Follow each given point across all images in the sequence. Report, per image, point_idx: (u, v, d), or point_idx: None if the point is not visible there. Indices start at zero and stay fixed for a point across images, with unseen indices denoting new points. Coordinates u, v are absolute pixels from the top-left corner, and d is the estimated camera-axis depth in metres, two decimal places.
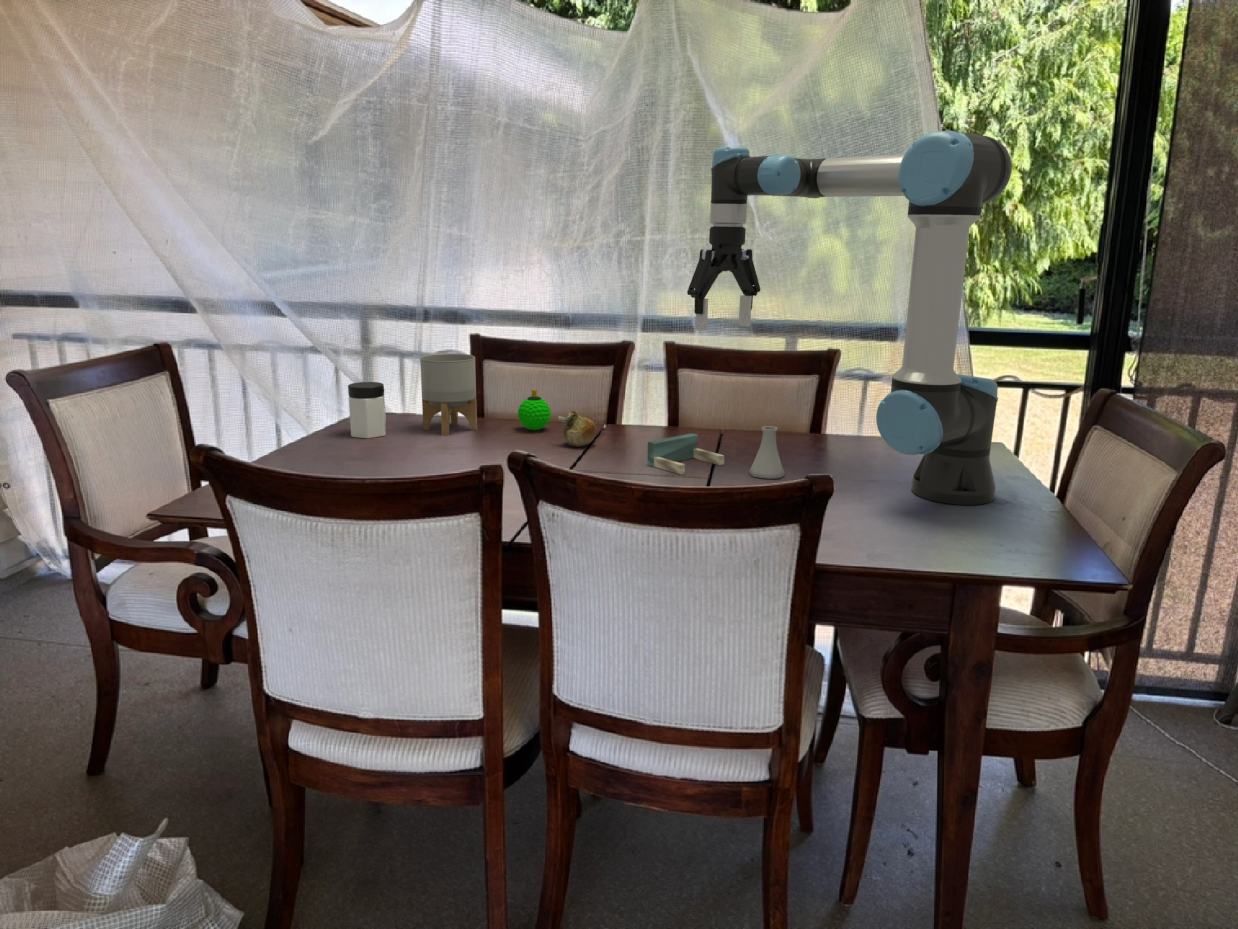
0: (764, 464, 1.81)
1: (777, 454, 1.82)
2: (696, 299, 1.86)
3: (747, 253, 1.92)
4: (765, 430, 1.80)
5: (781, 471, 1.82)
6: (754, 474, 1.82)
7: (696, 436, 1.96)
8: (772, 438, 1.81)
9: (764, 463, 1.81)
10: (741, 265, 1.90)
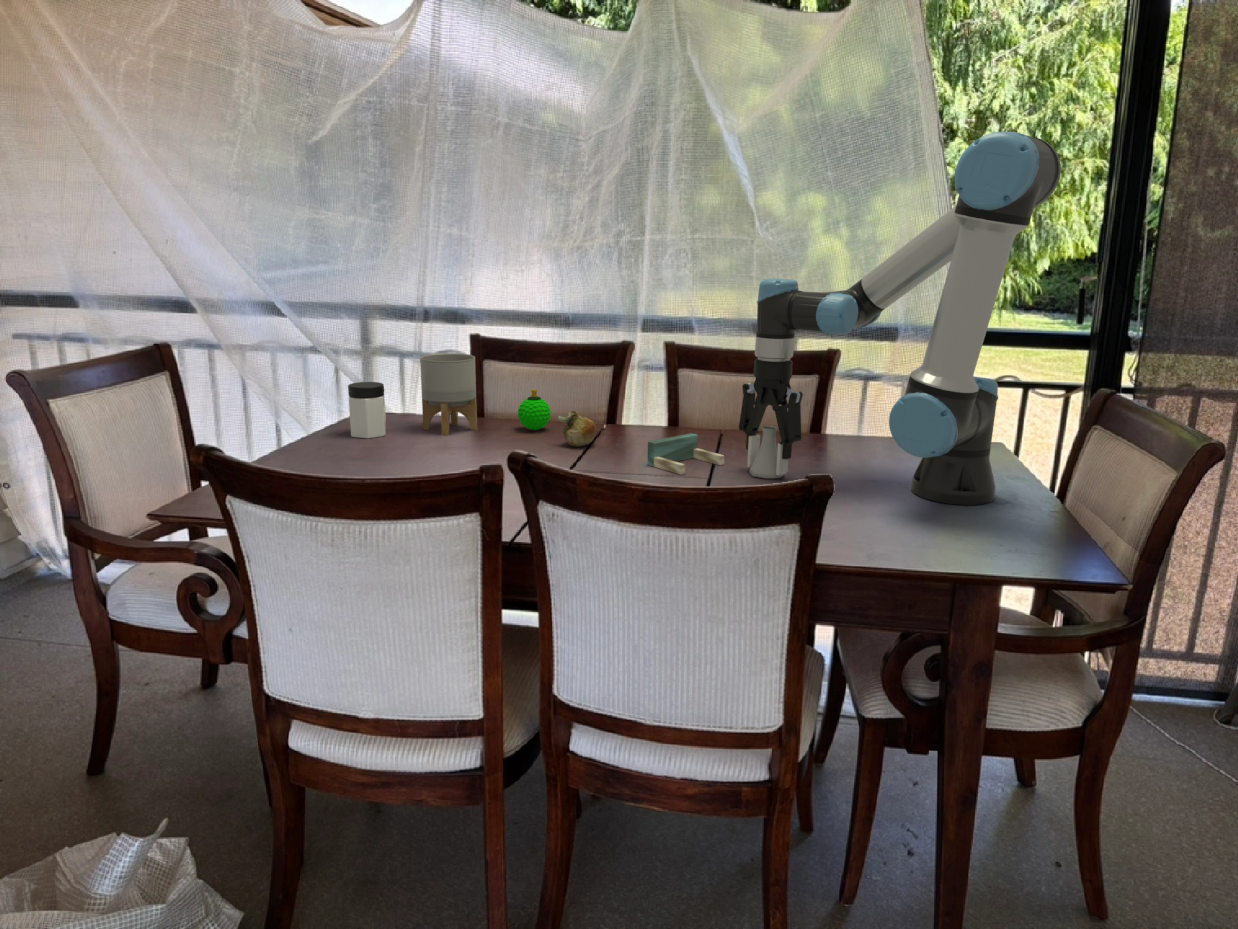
0: (764, 463, 1.81)
1: None
2: None
3: None
4: (765, 430, 1.80)
5: None
6: (754, 474, 1.82)
7: (696, 436, 1.96)
8: (772, 438, 1.81)
9: (764, 463, 1.81)
10: (774, 403, 1.77)
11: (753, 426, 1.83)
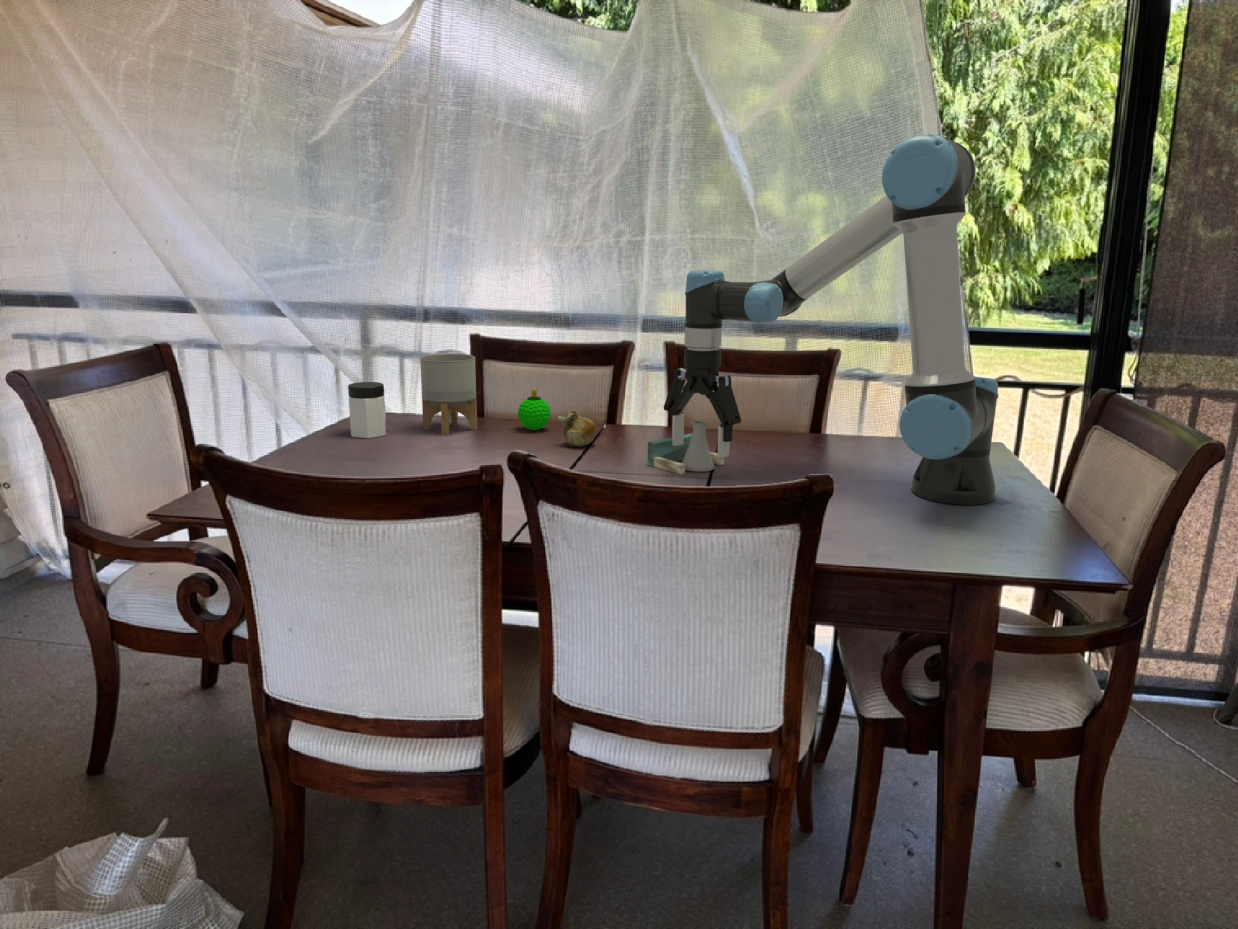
0: (694, 457, 1.85)
1: (707, 448, 1.86)
2: None
3: None
4: (695, 424, 1.85)
5: (711, 464, 1.86)
6: None
7: None
8: (702, 432, 1.85)
9: (694, 456, 1.85)
10: (706, 390, 1.80)
11: (677, 408, 1.89)
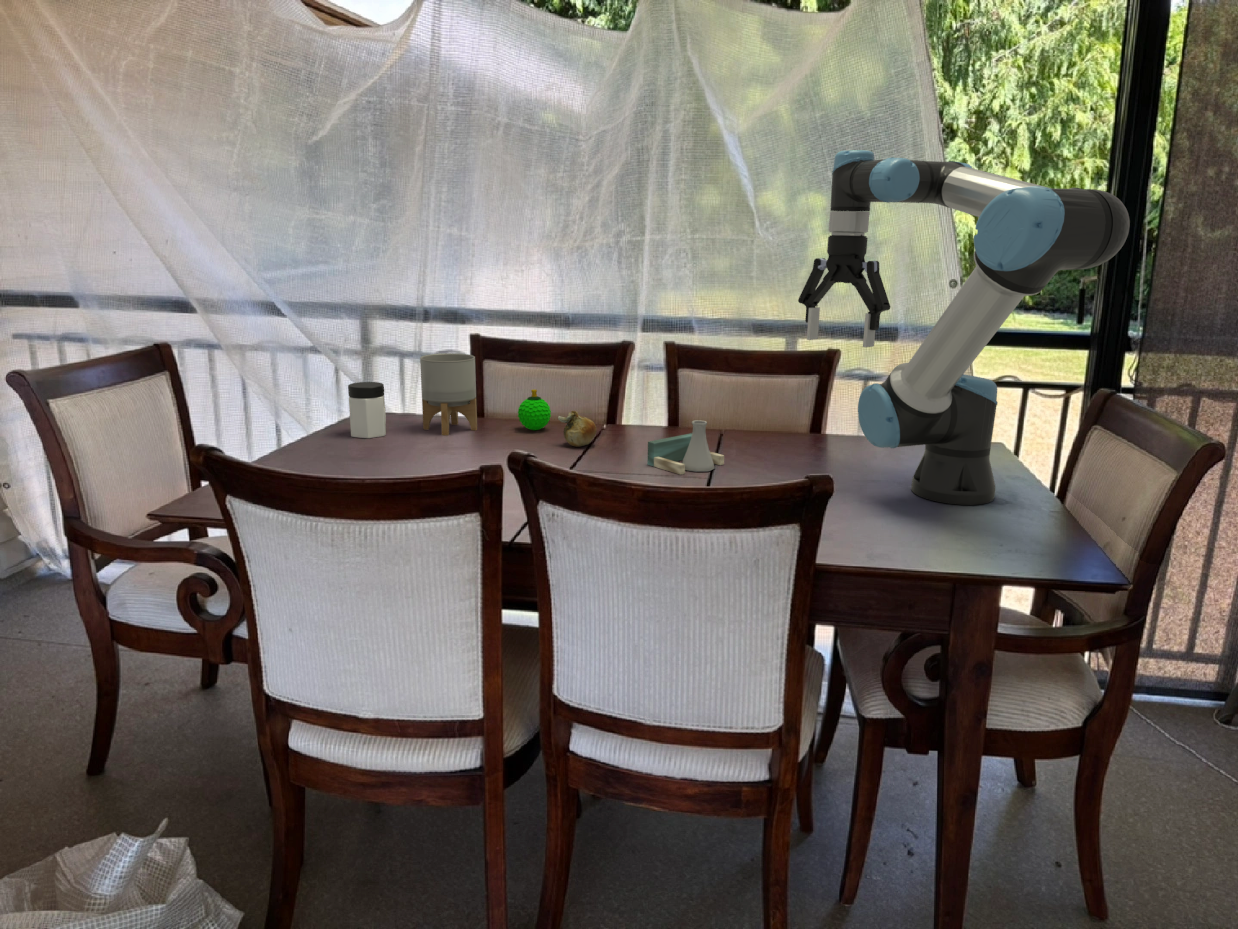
0: (694, 457, 1.85)
1: (707, 448, 1.86)
2: None
3: None
4: (694, 424, 1.85)
5: (711, 464, 1.86)
6: None
7: None
8: (702, 432, 1.85)
9: (694, 456, 1.85)
10: (852, 277, 1.74)
11: (815, 300, 1.83)
